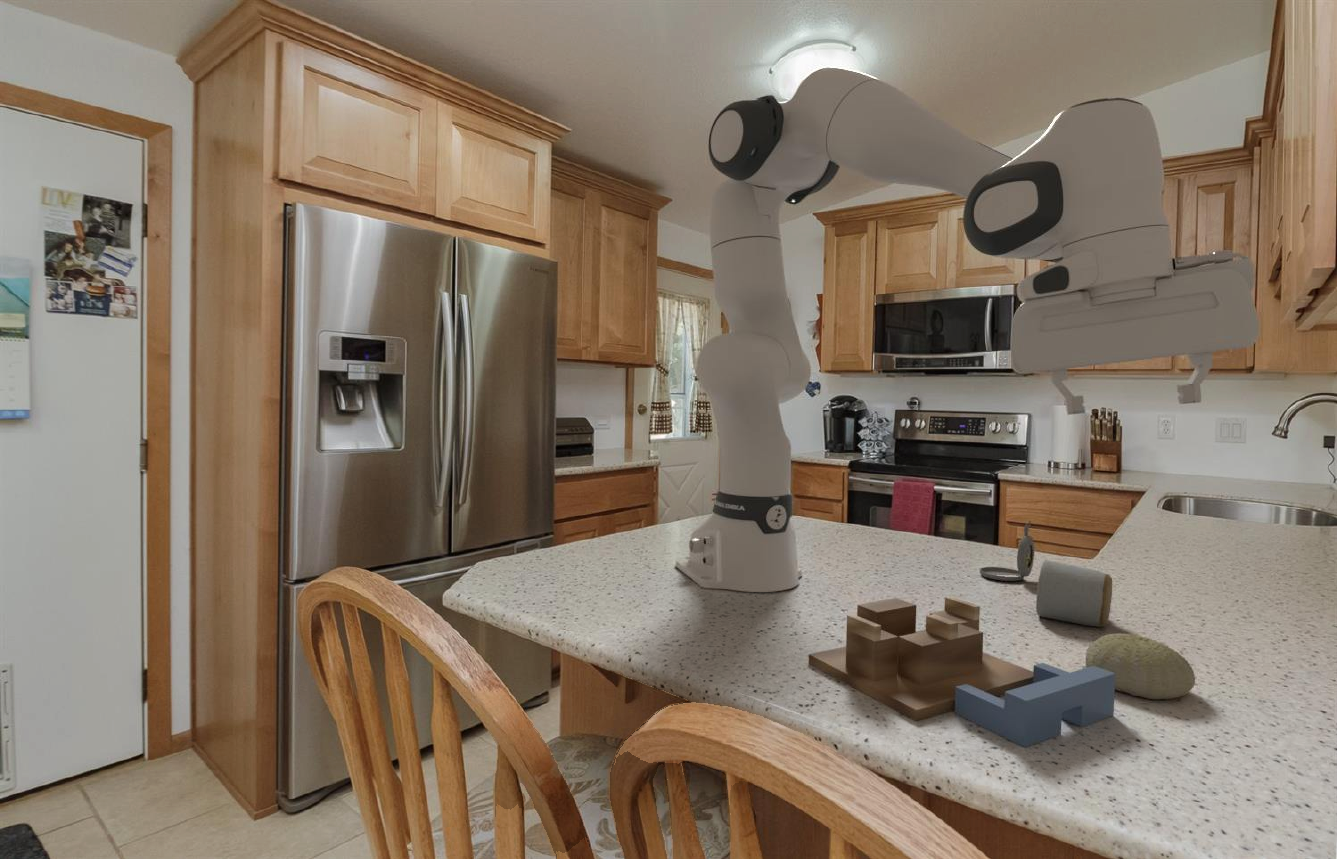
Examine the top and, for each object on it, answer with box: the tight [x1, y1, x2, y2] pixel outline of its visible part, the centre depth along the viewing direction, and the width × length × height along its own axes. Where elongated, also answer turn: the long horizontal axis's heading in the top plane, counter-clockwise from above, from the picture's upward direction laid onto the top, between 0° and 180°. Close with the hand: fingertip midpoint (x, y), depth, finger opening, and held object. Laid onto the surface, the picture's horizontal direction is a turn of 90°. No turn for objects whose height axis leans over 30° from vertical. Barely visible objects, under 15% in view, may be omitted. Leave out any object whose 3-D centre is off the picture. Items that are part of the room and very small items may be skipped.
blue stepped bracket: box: [954, 662, 1115, 748], centre depth 63 cm, size 7×13×4 cm, turn 118°
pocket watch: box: [979, 520, 1035, 582], centre depth 112 cm, size 8×8×10 cm
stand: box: [808, 596, 1033, 722], centre depth 73 cm, size 15×18×7 cm
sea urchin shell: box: [1085, 633, 1196, 700], centre depth 71 cm, size 9×8×8 cm
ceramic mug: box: [1035, 559, 1113, 627], centre depth 92 cm, size 11×8×8 cm
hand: (1131, 408), depth 67 cm, fingers open, 8 cm apart
